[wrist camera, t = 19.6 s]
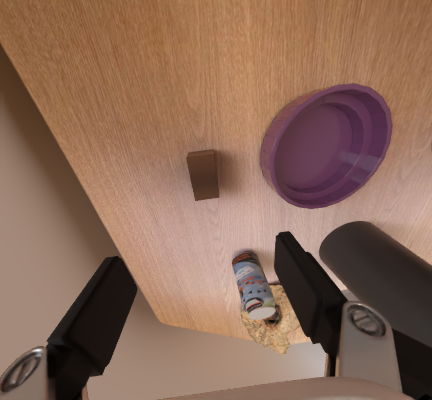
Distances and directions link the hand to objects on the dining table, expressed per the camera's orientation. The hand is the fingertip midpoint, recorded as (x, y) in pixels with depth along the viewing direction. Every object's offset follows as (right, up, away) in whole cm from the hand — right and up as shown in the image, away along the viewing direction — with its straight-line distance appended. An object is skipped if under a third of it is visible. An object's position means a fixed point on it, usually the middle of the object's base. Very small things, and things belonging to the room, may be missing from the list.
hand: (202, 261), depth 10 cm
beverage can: (+8, -10, +28) cm, 31 cm away
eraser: (-1, +9, +18) cm, 20 cm away
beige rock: (+15, -25, +36) cm, 46 cm away
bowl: (+17, +12, +18) cm, 27 cm away
